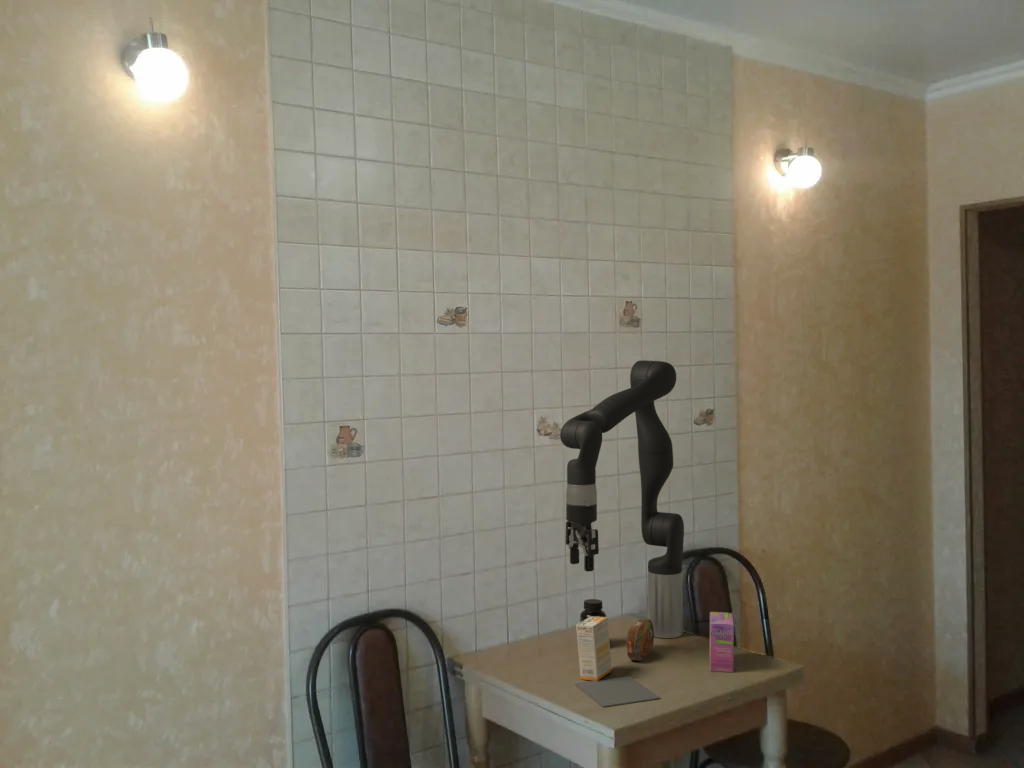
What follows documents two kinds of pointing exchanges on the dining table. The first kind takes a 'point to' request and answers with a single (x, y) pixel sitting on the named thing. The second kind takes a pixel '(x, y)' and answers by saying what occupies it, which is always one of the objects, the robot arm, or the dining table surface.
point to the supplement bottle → (592, 609)
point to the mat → (617, 691)
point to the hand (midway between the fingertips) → (581, 567)
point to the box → (721, 642)
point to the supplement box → (593, 648)
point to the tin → (640, 640)
